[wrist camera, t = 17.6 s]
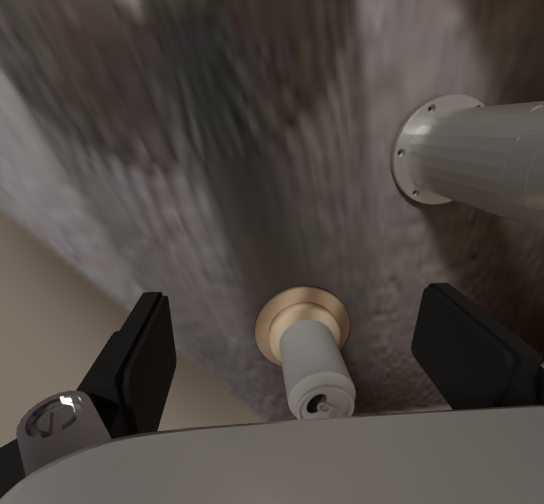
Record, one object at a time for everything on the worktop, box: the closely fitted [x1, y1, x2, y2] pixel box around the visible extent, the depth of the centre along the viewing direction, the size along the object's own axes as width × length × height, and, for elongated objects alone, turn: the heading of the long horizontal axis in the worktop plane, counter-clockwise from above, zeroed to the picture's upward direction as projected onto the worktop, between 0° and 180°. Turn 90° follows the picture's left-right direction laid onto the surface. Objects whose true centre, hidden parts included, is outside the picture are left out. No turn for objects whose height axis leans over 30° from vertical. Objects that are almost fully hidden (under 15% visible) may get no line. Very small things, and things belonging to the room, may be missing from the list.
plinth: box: [255, 286, 350, 366], centre depth 44 cm, size 14×14×3 cm
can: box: [279, 320, 356, 420], centre depth 37 cm, size 8×8×12 cm
